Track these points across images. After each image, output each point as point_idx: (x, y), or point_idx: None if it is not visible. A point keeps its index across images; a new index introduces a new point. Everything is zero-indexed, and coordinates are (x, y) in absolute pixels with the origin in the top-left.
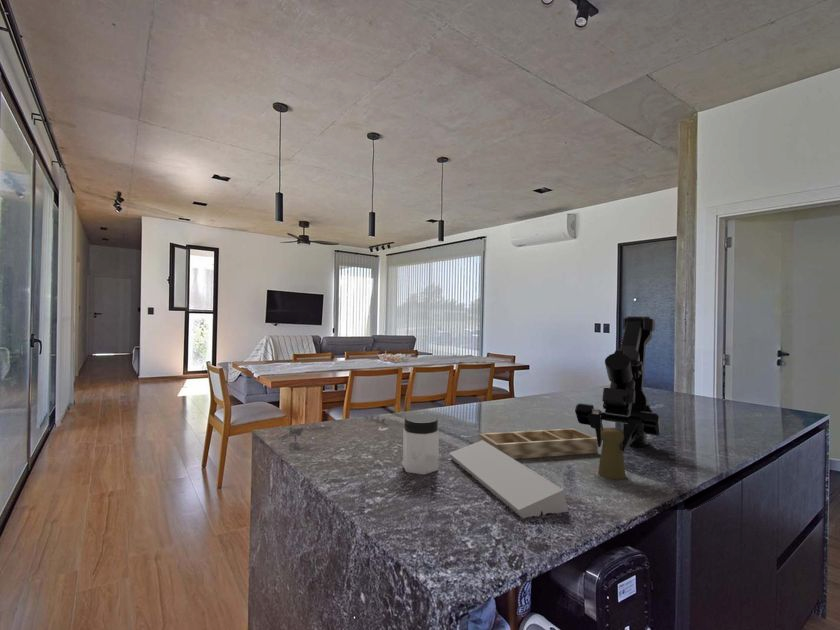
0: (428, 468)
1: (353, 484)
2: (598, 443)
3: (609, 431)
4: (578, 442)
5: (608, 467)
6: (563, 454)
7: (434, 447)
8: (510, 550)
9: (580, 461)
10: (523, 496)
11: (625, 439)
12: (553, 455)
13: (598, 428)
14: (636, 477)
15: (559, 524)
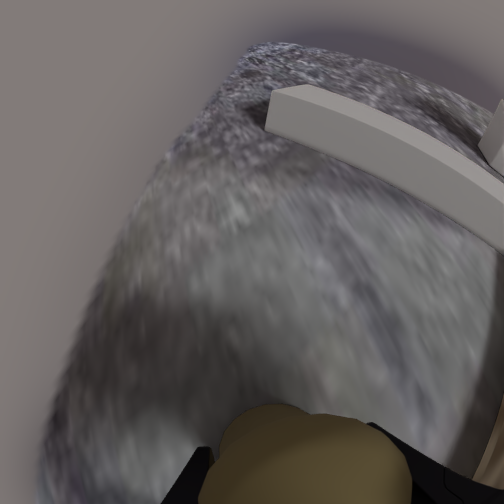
0: (483, 145)
1: (462, 105)
2: (373, 425)
3: (327, 444)
4: None
5: (278, 410)
6: None
7: (502, 129)
8: (268, 65)
9: None
10: (324, 94)
11: (187, 499)
12: (488, 445)
13: (444, 490)
14: None
15: (255, 103)
